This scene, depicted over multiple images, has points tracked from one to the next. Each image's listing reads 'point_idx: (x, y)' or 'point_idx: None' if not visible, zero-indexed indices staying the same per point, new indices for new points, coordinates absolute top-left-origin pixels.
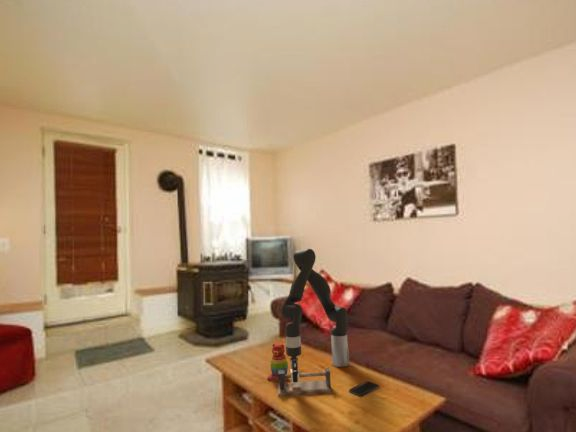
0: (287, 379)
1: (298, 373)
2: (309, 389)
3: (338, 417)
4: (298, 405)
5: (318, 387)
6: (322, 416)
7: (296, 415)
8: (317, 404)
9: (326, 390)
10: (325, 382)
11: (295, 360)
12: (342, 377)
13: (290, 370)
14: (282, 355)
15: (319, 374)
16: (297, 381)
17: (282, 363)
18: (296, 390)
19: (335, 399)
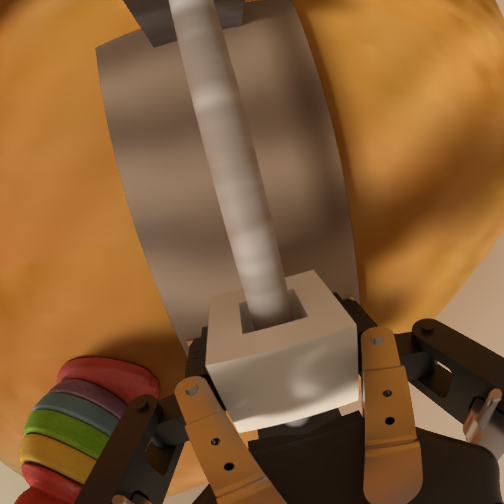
0: (111, 359)
1: (352, 323)
2: (300, 166)
3: (490, 51)
4: (446, 223)
5: (251, 92)
6: (499, 109)
7: (499, 221)
8: (434, 114)
9: (301, 33)
10: (144, 53)
11: (488, 471)
12: (39, 12)
13: (268, 421)
14: (60, 497)
15: (224, 38)
16: (335, 292)
17: None
18: (323, 271)
19: (364, 8)
